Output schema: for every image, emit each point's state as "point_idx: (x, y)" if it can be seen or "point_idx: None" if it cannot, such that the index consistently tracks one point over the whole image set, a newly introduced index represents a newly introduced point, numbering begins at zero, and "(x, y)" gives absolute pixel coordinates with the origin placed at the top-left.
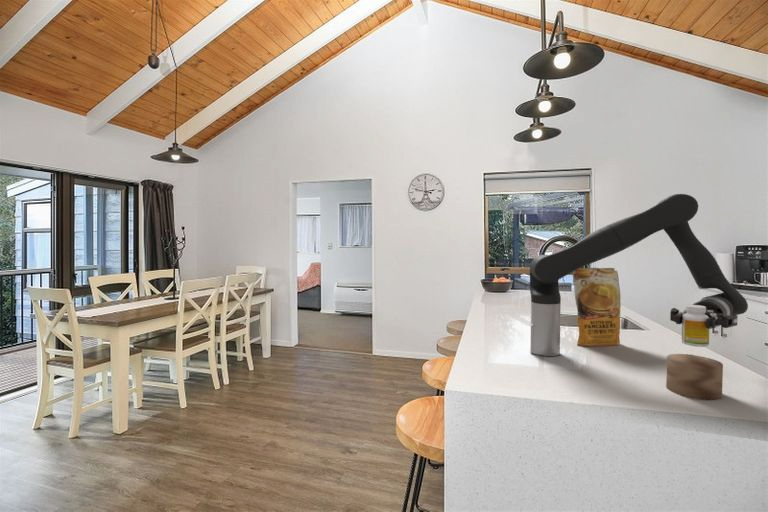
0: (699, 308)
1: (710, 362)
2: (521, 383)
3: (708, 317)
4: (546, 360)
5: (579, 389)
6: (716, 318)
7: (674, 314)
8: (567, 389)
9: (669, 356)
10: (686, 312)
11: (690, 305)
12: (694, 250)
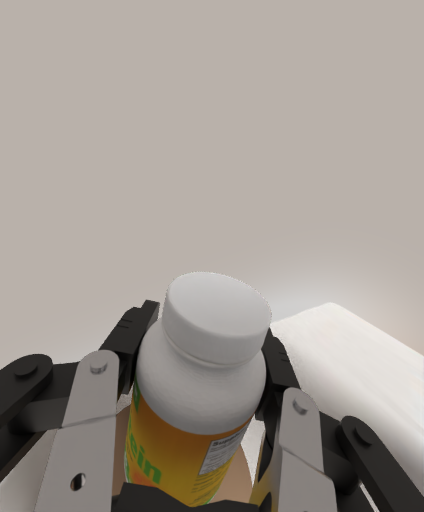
0: (195, 276)
1: (112, 494)
2: (334, 338)
3: (146, 333)
4: None
5: (294, 357)
6: (97, 355)
7: (326, 416)
8: (300, 348)
9: (243, 476)
10: (288, 446)
11: (248, 304)
12: None
